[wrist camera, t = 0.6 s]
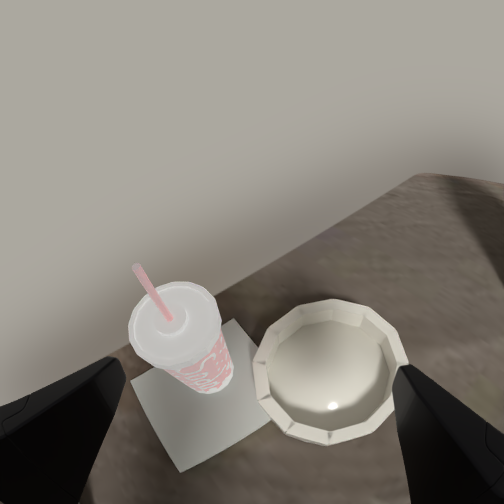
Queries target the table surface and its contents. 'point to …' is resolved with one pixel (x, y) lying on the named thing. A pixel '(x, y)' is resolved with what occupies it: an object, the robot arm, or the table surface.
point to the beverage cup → (181, 333)
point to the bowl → (328, 371)
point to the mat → (203, 406)
